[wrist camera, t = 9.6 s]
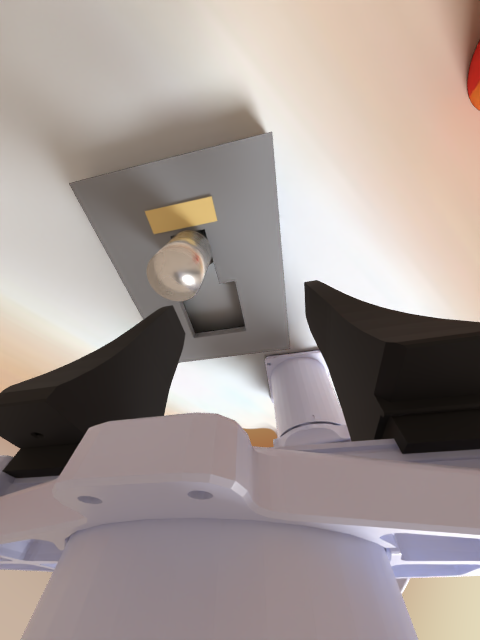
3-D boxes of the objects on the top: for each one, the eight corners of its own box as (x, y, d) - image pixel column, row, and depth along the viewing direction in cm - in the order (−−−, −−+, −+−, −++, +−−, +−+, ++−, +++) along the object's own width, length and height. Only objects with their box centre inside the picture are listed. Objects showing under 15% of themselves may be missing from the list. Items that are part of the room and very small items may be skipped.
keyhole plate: (286, 334, 25) (290, 350, 23) (173, 349, 27) (167, 365, 25) (268, 136, 15) (272, 131, 13) (90, 181, 17) (66, 183, 15)
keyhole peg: (225, 258, 20) (215, 301, 14) (184, 266, 21) (156, 310, 14) (214, 212, 18) (196, 237, 11) (169, 222, 18) (126, 250, 12)
